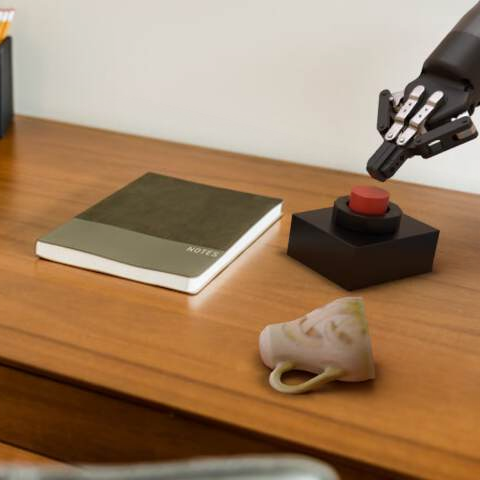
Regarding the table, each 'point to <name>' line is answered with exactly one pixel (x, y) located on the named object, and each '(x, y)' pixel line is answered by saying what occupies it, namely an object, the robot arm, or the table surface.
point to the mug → (321, 346)
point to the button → (369, 199)
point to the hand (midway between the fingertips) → (374, 175)
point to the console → (362, 244)
